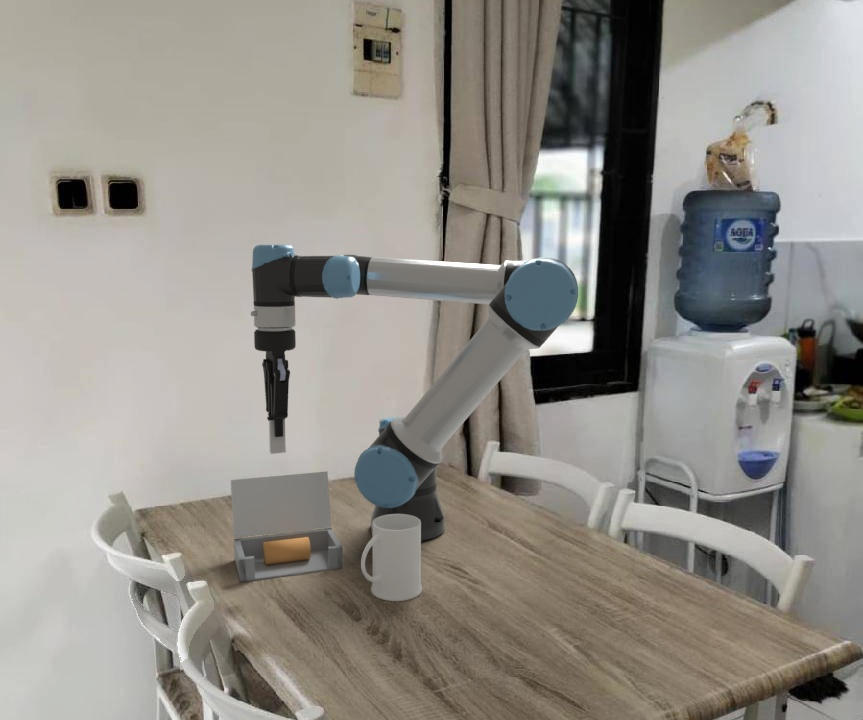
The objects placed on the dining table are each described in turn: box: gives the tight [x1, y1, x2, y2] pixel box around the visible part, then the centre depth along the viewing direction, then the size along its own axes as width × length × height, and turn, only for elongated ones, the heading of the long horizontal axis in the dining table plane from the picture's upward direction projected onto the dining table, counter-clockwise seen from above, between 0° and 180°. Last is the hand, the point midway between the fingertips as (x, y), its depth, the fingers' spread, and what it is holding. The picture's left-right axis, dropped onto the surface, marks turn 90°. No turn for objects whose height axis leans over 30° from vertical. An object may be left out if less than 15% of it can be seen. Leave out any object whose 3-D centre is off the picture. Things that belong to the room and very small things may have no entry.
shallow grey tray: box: [233, 527, 344, 583], centre depth 139 cm, size 18×10×4 cm, turn 109°
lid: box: [230, 470, 332, 539], centre depth 144 cm, size 18×10×1 cm
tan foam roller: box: [263, 537, 311, 565], centre depth 139 cm, size 8×4×4 cm, turn 109°
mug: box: [360, 514, 423, 602], centre depth 127 cm, size 12×8×12 cm
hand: (277, 452), depth 146 cm, fingers closed
